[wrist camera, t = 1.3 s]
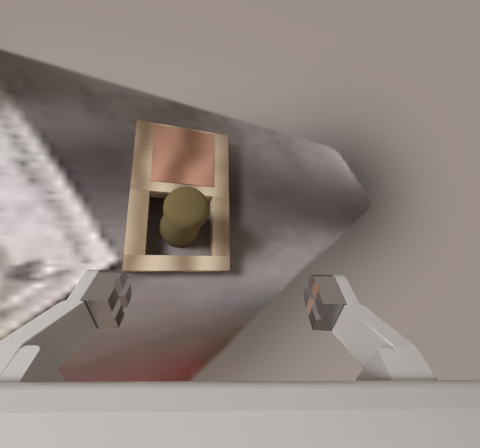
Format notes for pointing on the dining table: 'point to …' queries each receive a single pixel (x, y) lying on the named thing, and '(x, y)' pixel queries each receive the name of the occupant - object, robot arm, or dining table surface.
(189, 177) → the wooden frame
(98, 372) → the dining table surface
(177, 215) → the cork
